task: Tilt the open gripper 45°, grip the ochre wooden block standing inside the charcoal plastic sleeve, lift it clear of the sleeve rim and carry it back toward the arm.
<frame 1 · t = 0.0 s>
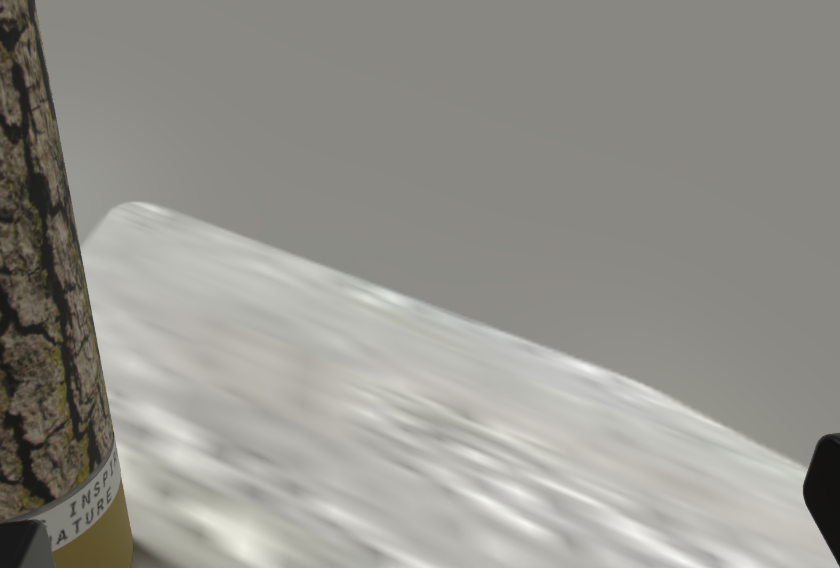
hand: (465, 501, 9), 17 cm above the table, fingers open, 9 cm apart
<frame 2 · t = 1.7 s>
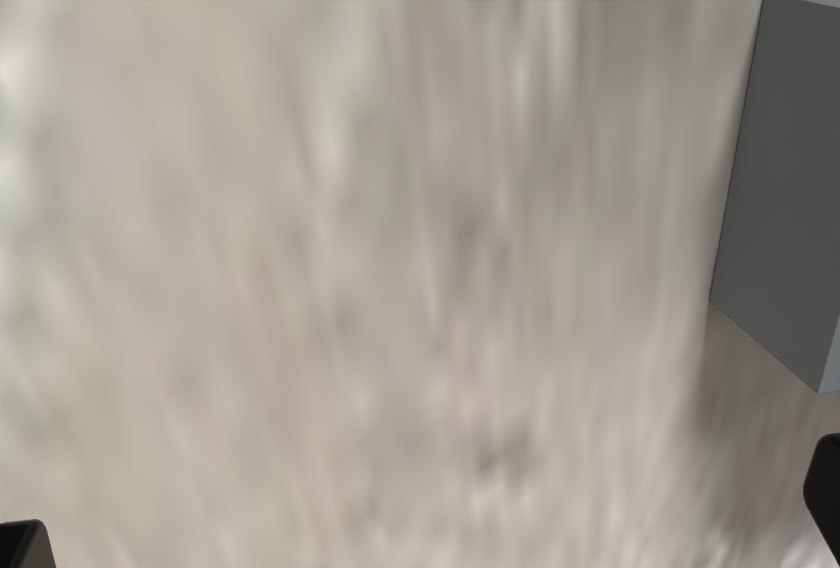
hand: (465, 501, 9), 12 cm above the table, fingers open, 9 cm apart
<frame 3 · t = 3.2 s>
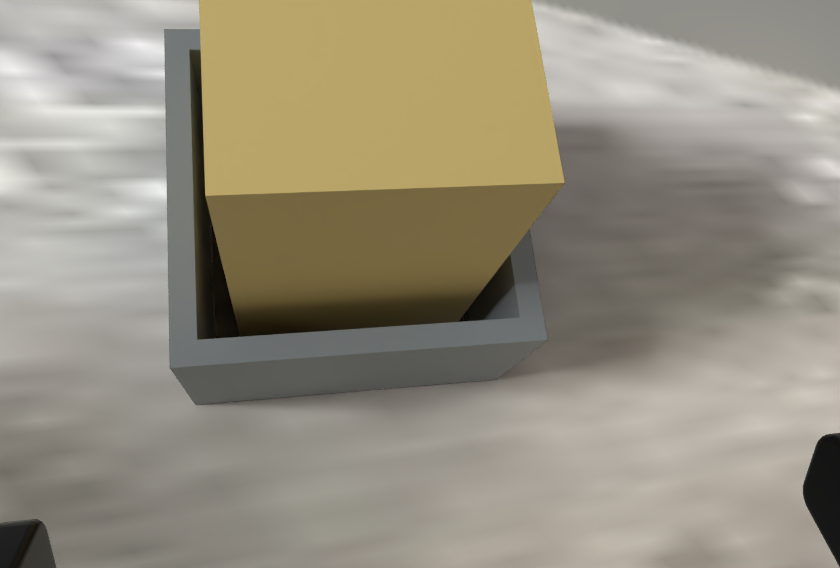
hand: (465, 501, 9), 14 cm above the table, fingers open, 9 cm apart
sleeve: (339, 250, 24), on the table
ochre block: (339, 251, 24), resting in sleeve
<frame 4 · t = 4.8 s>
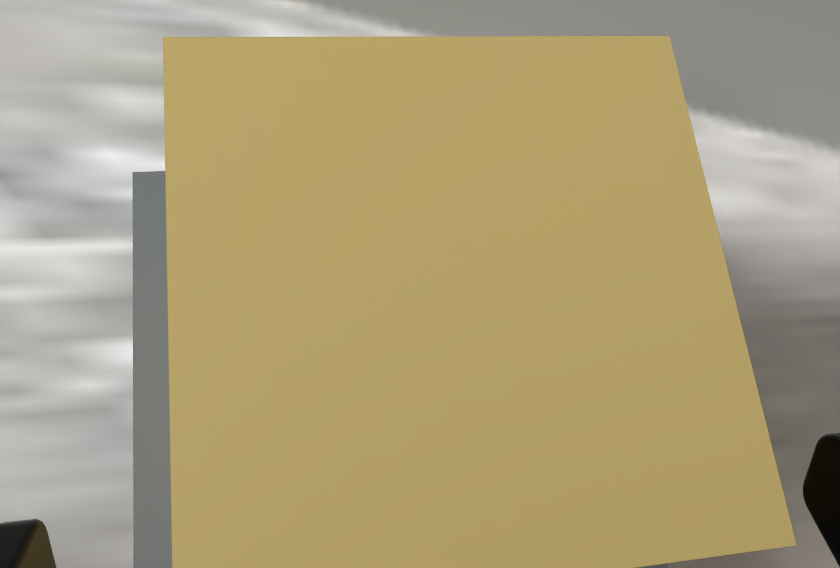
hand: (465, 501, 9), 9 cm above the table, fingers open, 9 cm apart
sleeve: (368, 429, 18), on the table
ochre block: (368, 429, 18), resting in sleeve
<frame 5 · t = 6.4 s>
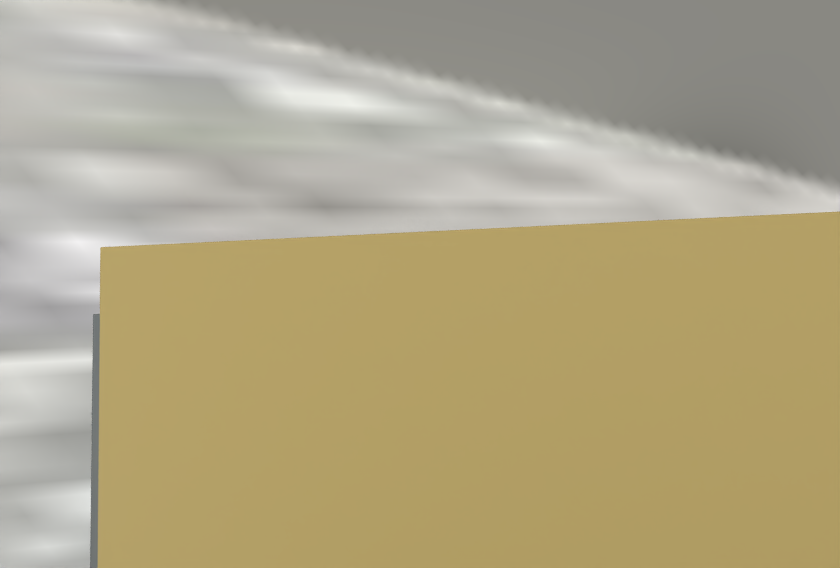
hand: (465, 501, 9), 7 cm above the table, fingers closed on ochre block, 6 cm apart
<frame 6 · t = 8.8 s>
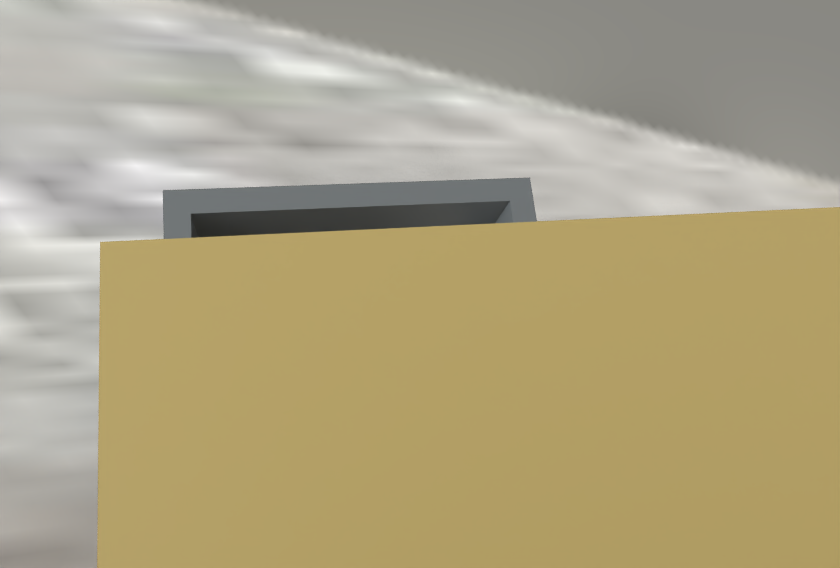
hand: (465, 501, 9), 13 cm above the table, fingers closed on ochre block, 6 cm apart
sleeve: (353, 398, 22), on the table
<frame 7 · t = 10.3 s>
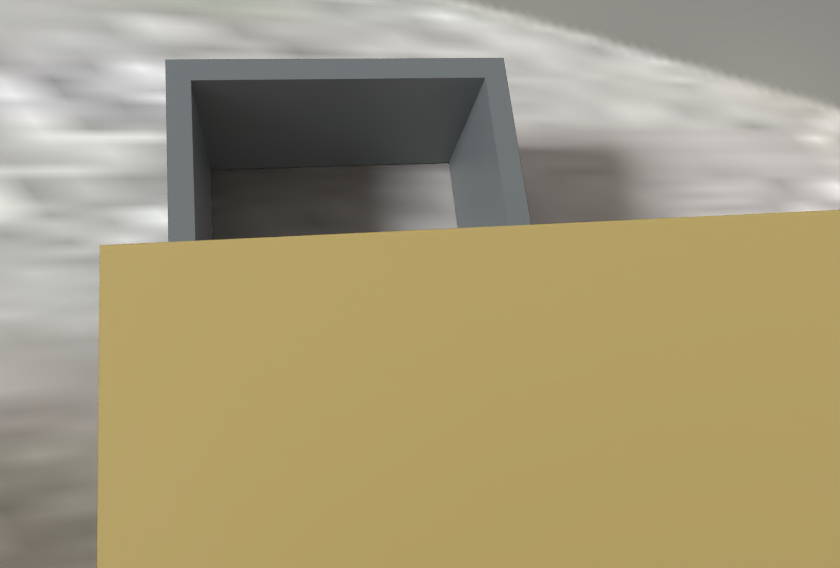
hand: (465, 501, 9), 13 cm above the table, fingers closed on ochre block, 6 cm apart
sleeve: (342, 278, 24), on the table
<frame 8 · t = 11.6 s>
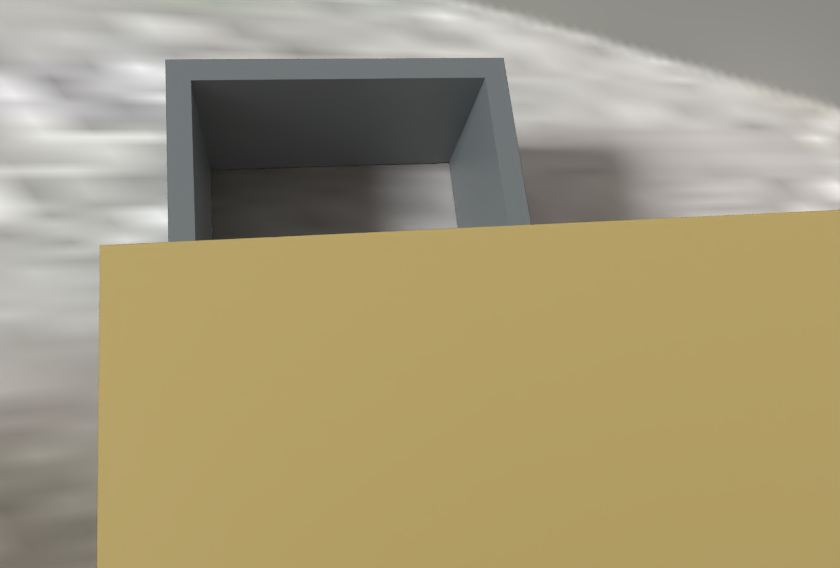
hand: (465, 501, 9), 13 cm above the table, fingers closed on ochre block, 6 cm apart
sleeve: (342, 278, 24), on the table
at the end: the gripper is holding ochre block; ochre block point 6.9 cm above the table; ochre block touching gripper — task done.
